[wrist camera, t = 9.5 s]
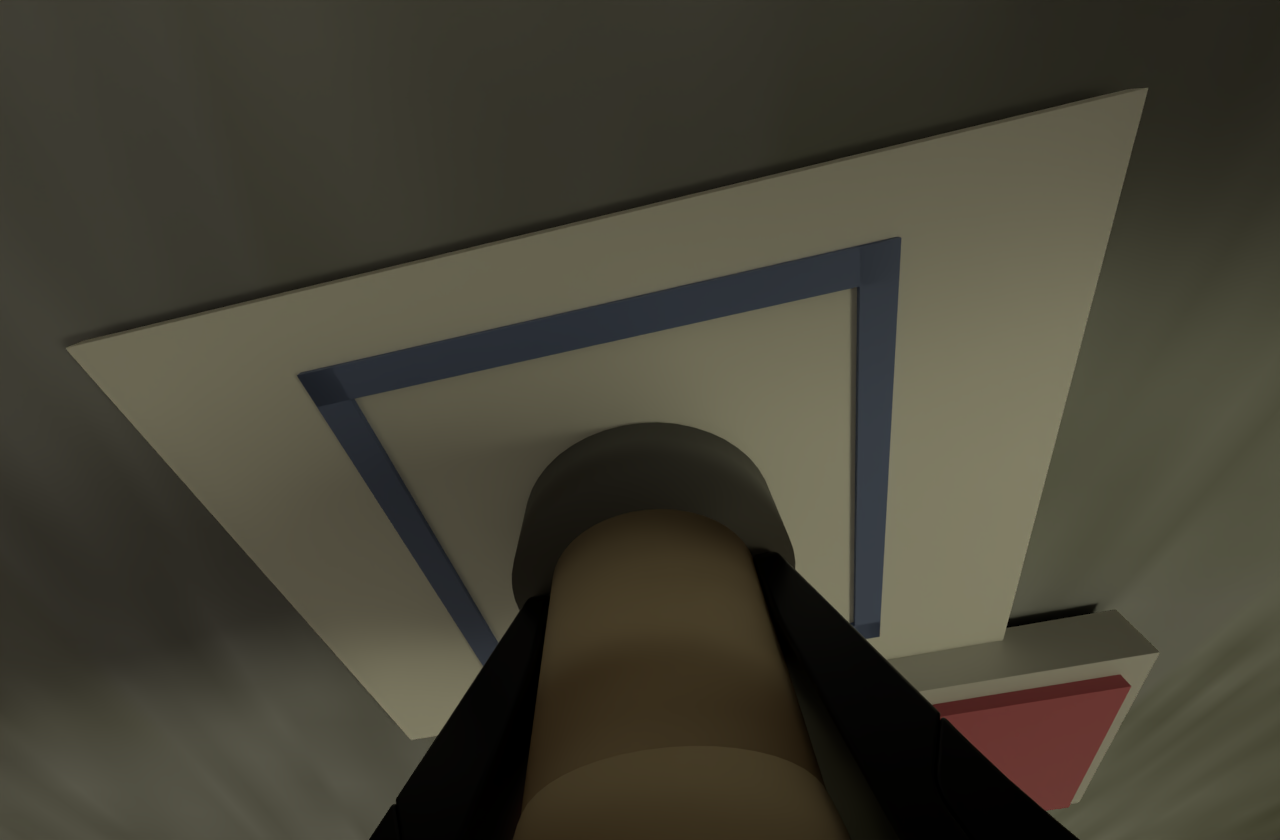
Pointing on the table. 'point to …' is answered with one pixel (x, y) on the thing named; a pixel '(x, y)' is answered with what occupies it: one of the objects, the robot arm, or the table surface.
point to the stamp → (661, 649)
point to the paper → (661, 390)
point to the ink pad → (1040, 697)
